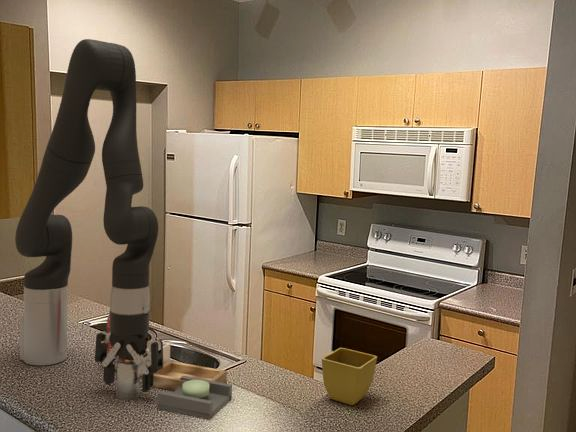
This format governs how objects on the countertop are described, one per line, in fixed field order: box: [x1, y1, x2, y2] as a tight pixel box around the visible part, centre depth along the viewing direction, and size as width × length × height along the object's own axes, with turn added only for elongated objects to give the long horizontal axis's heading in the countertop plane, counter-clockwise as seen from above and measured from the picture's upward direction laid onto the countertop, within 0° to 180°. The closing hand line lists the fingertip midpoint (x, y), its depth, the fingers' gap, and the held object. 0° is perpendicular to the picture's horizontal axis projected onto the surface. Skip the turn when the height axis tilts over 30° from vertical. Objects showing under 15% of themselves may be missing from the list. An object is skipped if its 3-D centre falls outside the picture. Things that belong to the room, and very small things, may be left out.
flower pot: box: [321, 347, 378, 406], centre depth 119 cm, size 9×9×9 cm
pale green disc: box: [182, 380, 209, 398], centre depth 114 cm, size 5×5×2 cm
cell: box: [115, 358, 141, 401], centre depth 116 cm, size 4×4×8 cm
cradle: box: [156, 376, 233, 420], centre depth 114 cm, size 11×10×3 cm
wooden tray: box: [152, 360, 228, 392], centre depth 123 cm, size 14×9×2 cm, turn 72°
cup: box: [140, 342, 171, 377], centre depth 129 cm, size 6×6×6 cm
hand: (128, 387), depth 116 cm, fingers open, 8 cm apart
